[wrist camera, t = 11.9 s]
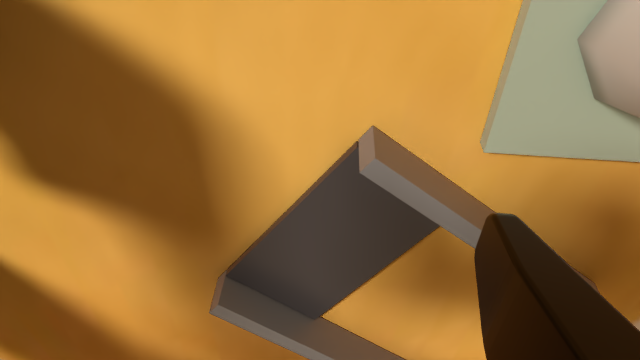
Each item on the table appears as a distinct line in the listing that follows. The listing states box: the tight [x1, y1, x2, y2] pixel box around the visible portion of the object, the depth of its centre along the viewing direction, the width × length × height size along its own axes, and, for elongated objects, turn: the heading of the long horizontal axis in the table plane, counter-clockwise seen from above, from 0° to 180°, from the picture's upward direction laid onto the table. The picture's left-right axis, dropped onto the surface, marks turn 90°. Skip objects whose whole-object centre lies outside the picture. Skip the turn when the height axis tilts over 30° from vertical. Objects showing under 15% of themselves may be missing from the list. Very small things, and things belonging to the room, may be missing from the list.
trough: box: [209, 126, 600, 360], centre depth 28 cm, size 17×14×2 cm
